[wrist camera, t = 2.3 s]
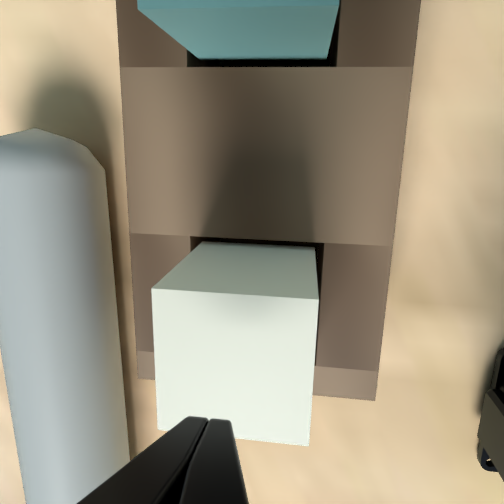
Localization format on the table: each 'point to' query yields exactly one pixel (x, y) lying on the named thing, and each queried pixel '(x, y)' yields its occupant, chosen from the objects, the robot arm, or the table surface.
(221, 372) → the peg cream
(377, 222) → the walnut block
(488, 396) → the robot arm
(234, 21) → the peg teal
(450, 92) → the table surface
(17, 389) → the tube
